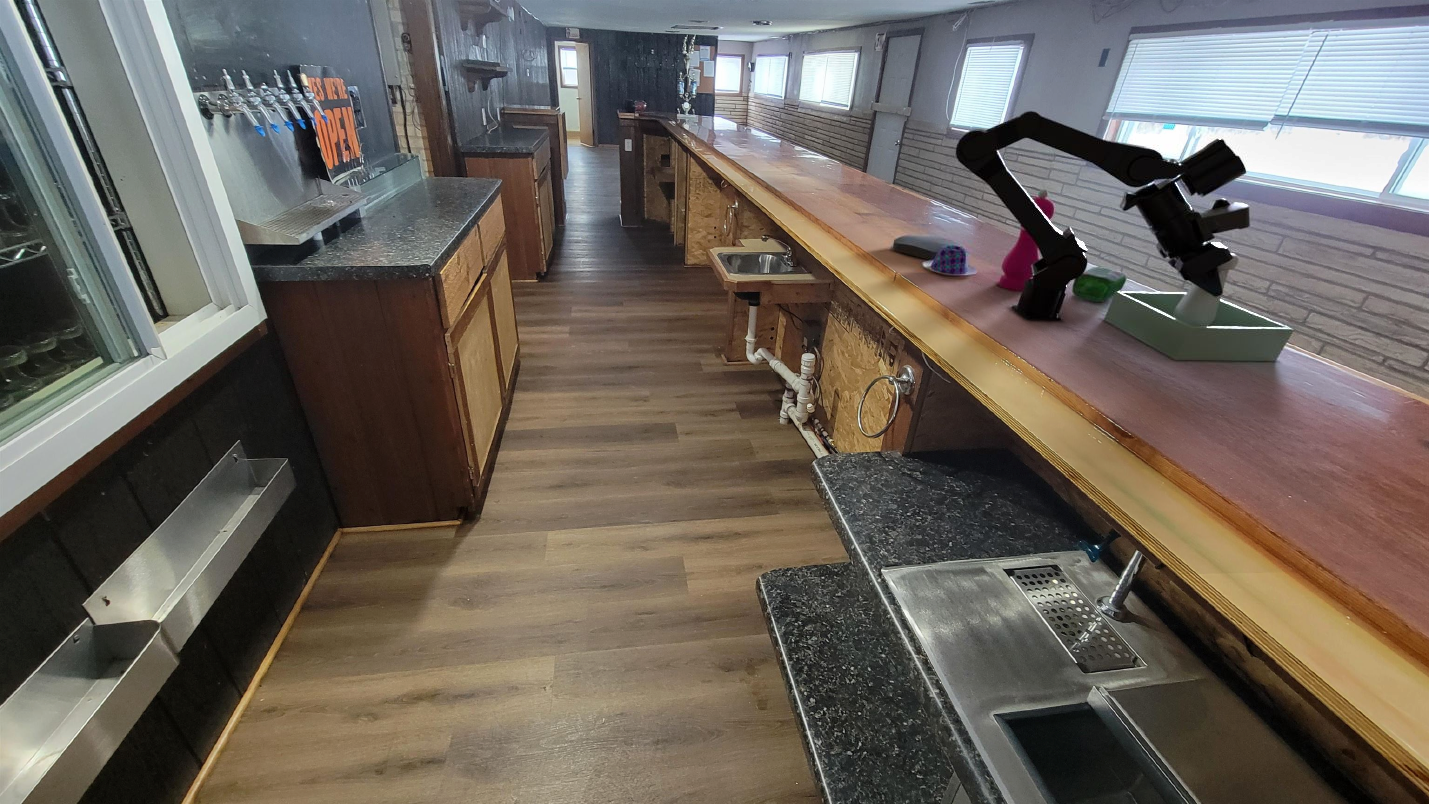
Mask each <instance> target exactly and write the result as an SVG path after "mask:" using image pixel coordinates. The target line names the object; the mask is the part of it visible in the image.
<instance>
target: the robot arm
mask: <svg viewBox="0 0 1429 804" xmlns="http://www.w3.org/2000/svg"><path fill="white" fill-rule="evenodd" d="M1025 139H1029V140H1032V141H1034V142H1036V143H1040V144H1042V145H1045V146H1047V147H1050V148H1052V149H1055V150H1057V151H1060V152H1063V153H1065V154H1067V155H1071V156H1073V157H1075V158H1078V159H1081V160H1083V161H1086V162H1089V163H1091V164H1093V165H1094V166H1096V167H1097V168H1099V169H1101V170H1102V171H1104V172H1106V173H1107V174H1108V175H1110V176H1112V177H1113V178H1115V179H1116V180H1118V181H1119V182H1120V183H1122V184H1123V185H1126V186H1128V187H1130V188H1135V189H1136V188H1139V189H1138V190H1136V191H1134V192H1129V191H1124V192H1123V197H1122V200H1121V201H1120V204H1119V208H1120V209H1121V210H1122V211H1123V212H1127V211H1129V210H1131V209H1132V208H1134V207H1136V208H1137V210H1138V212H1139V213H1140V215H1141V216H1142V218H1143V220H1144V221H1145V223H1146V224H1147V226H1148V229H1149V231H1150V233H1151V234H1152V235H1153V236H1154V237H1155V239H1156V240H1157V243H1156V246H1155V248H1156V250H1157V251H1158V253H1159V255H1160V256H1161V257H1162V258H1163V259H1166V258H1169V260H1168V261H1167V263H1168V265H1169V266H1170V267H1172V268H1173V269H1174V270H1176V271H1177V274H1178V275H1179V277H1181V278H1182V280H1184V281H1185V282H1187V281H1188V282H1190V283H1192V284H1195V285H1196V286H1198V287H1200V288H1201V289H1203V290H1205V291H1206V292H1208V293H1210V294H1211V295H1213V296H1214V297H1217V296H1219V295H1221V296H1222V295H1223V294H1224V292H1223V291H1224V289H1223V290H1222V286H1221V282H1220V277H1219V272H1218V266H1220V265H1222V264H1225V263H1227V262H1229V261H1230V260H1232V259H1233V257H1232V255H1231V253H1232V252H1231V251H1230V250H1229V248H1228V247H1227V246H1225V245H1224V244H1222V243H1221V242H1215V241H1214V242H1212V240H1214V239H1216V237H1215V234H1220V233H1221V234H1222V233H1224V232H1229V231H1233V230H1243V229H1244V230H1245V229H1247V228H1249V227H1250V226H1251V221H1250V220H1251V219H1250V206H1249V205H1248V204H1245V203H1243V202H1232V204H1230V202H1229V201H1228V199H1225V198H1223V197H1221V198H1219V199H1218V198H1217V199H1213V200H1211V202H1210V204H1209V206H1208V207H1207V209H1204V210H1203V211H1201V212H1199V211H1198V210H1197V211H1195V209H1194V208H1192V207H1191V205H1190V204H1189V202H1188V201H1187V200H1186V197H1185V196H1184V194H1183V193H1182V191H1181V189H1180V188H1179V186H1178V184H1177V182H1179V183H1180V185H1181V187H1182V188H1183V189H1184V192H1186V194H1187V195H1188V196H1189V197H1193V196H1194V195H1197V196H1199V197H1201V198H1204V197H1206V196H1207V195H1209V194H1211V193H1213V192H1215V191H1217V190H1219V189H1220V188H1222V187H1224V186H1226V185H1227V184H1230V183H1231V182H1233V181H1235V180H1237V179H1238V178H1240V177H1242V176H1244V175H1247V169H1246V166H1245V164H1244V162H1243V160H1242V159H1241V157H1240V156H1239V155H1237V154H1236V153H1235V152H1234V150H1233V149H1232V148H1230V146H1229V145H1227V143H1226V142H1225V140H1224V139H1223V138H1218V137H1217V138H1215V139H1214V140H1212V141H1210V142H1209V143H1208V144H1206V145H1205V146H1204V147H1202V148H1200V149H1199V150H1197V151H1196V152H1194V153H1192V154H1191V155H1189V156H1188V157H1185V158H1184V159H1183V160H1181V161H1179V160H1176V159H1174V158H1169V159H1167V158H1164V157H1163V155H1162V154H1161V152H1159V151H1157V150H1155V149H1153V148H1150V147H1148V146H1144V145H1138V144H1133V143H1127V142H1120V141H1114V140H1109V139H1108V140H1107V139H1103V138H1101V137H1099V136H1095V135H1094V134H1093V135H1092V134H1090V133H1087V132H1085V131H1083V130H1079V129H1077V128H1074V127H1072V126H1069V125H1066V124H1064V123H1061V122H1058V121H1056V120H1053V119H1051V118H1047V117H1045V116H1042V115H1041V114H1040V113H1038V112H1036V111H1033V110H1027V111H1024V112H1022V113H1020V115H1018V116H1016V117H1013V118H1011V119H1008V120H1006V121H1003V122H1001V123H999V124H996V125H994V126H992V127H990V128H988V129H984V128H973V129H971V130H969V131H967V132H965V133H964V134H963V135H962V137H961V138H960V139H959V140H958V142H957V145H956V147H955V157H956V159H957V161H958V162H959V163H960V164H961V165H962V166H963V167H965V168H966V169H967V170H968V171H969V172H971V173H972V174H973V175H975V176H976V177H977V178H979V179H980V180H982V181H983V182H985V183H986V184H987V185H988V186H989V188H990V189H991V190H992V191H993V192H994V194H996V196H997V198H999V200H1000V201H1001V202H1002V203H1003V205H1004V206H1005V207H1006V209H1007V210H1008V211H1009V212H1010V213H1011V214H1012V215H1013V217H1014V218H1015V219H1016V220H1017V222H1018V223H1019V224H1021V225H1022V227H1023V228H1024V229H1025V230H1026V231H1027V233H1028V234H1029V235H1030V236H1031V238H1032V239H1033V240H1034V241H1035V243H1036V245H1037V247H1038V250H1039V254H1040V255H1041V258H1040V260H1038V261H1036V262H1035V263H1033V264H1032V265H1031V272H1032V276H1033V277H1032V278H1030V280H1026V281H1025V284H1024V287H1023V290H1022V291H1021V294H1020V295H1019V296H1020V297H1019V300H1018V302H1017V305H1016V304H1012V305H1011V309H1012V310H1014V311H1015V312H1017V313H1018V314H1020V315H1021V316H1023V318H1025V319H1027V320H1031V321H1035V320H1036V321H1038V320H1039V321H1042V320H1043V321H1062V316H1061V315H1059V314H1060V313H1061V309H1062V307H1063V304H1064V301H1065V298H1066V295H1067V293H1066V291H1067V287H1068V285H1069V283H1070V282H1071V281H1074V280H1075V279H1076V278H1078V277H1079V276H1081V275H1082V274H1083V273H1084V271H1086V270H1087V267H1088V258H1087V256H1086V254H1085V253H1088V249H1087V248H1086V246H1085V243H1084V242H1083V241H1081V240H1080V239H1078V238H1076V235H1075V233H1074V232H1073V230H1072V228H1071V226H1068V227H1067V228H1066V229H1065V230H1064V231H1062V230H1060V229H1059V228H1058V227H1056V226H1055V225H1054V224H1053V223H1052V222H1051V220H1049V219H1048V218H1047V217H1046V216H1045V215H1044V213H1043V212H1042V211H1041V210H1040V208H1039V207H1038V206H1037V205H1036V203H1035V202H1034V201H1033V200H1032V197H1031V196H1030V195H1029V194H1028V192H1027V191H1026V189H1025V188H1024V187H1023V186H1022V185H1021V183H1020V182H1019V181H1018V180H1017V179H1016V177H1015V176H1014V174H1012V172H1011V171H1010V169H1008V168H1007V166H1006V164H1005V161H1004V159H1003V157H1002V156H1001V153H1000V150H1002V149H1004V148H1006V147H1009V146H1012V145H1013V144H1015V143H1017V142H1020V141H1022V140H1025ZM1156 180H1157V181H1158V180H1162V181H1160V182H1158V183H1155V182H1154V181H1156Z"/></svg>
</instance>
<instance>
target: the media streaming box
mask: <svg viewBox="0 0 1429 804" xmlns="http://www.w3.org/2000/svg"><path fill="white" fill-rule="evenodd" d="M945 245H950V246H952V245H953V246H958V247H963V248H964V245H963V244H961V243H960V242H957V241H954V240H952V239H949V238H944V237H940V236H933V235H917V234H916V235H915V234H906V235H902V236H899V237H897V238H895V239H894V240H893V243H892V250H893V251H895V252H898V253H902V254H906V255H909V256H912V257H913V256H914V257H918V258H922V259H926V260H934V259H935V257H936V255H937V253H938V251H939V249H940V248H941V247H942V246H945Z"/></svg>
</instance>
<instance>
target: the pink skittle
mask: <svg viewBox="0 0 1429 804" xmlns="http://www.w3.org/2000/svg"><path fill="white" fill-rule="evenodd" d="M1048 195H1049V191H1048V190H1047V189H1041V190H1039V191H1038V193H1037V197H1033V198H1032V197H1031V198H1032V200H1033V201H1034V202H1035V203H1036V205H1037V206H1038V207H1039V208H1040V210H1041V211H1042V212H1043V213H1044V215H1045V216H1046V217H1047V218H1048V219H1049V221H1051V219H1052V218H1053V216H1055V212H1056V206H1055V203H1054V202H1053V201H1052V200H1051V199H1049V198H1047V197H1048ZM1019 224H1020V223H1019ZM1018 229H1020V231H1019V236H1018V238H1017V241H1016V242H1015V245H1014V246H1013V247H1012V249H1011V250H1010V251H1008V253H1007V254H1006V256H1005V257H1004V259H1003V261H1002V263H1001V269H1002V272H1003V274H1002V275H1001V276H1000V278H999V281H998V285H999V286H1000V287H1002V288H1004V289H1008V290H1010V291H1017V292H1022V290H1023V287H1024V284H1025V281H1026V280H1030V279H1032V278H1033V276H1032V272H1031V265H1032V264H1033V263H1035V262H1036V261H1038V260H1040V259H1041V258H1040V251H1039V249H1038V247H1037V245H1036V243H1035V241H1034V240H1033V239H1032V238H1031V236H1030V235H1029V234H1028V233H1027V231H1026V230H1025V229H1024V228H1023V227H1022V225H1021V224H1020V225H1019V227H1018Z"/></svg>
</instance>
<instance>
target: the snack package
mask: <svg viewBox="0 0 1429 804" xmlns="http://www.w3.org/2000/svg"><path fill="white" fill-rule="evenodd" d="M1127 279H1128V275H1127V274H1126V273H1125V272H1123V271H1121V270H1116V269H1112V268H1107V267H1102V266H1093V267H1091V268H1088V269H1086V270H1085V271H1084V273H1083V274H1082V275H1081V276H1079V277H1078V278H1076V279H1074V280H1073V284H1072V288H1071V291H1072V293H1073V295H1074V296H1075V297H1077V298H1080V299H1083V300H1088V301H1091V302H1094V303H1102V302H1104V301H1106V300H1107V299H1109V298H1111V297H1113V296H1114V294H1115V291H1121V290H1122V289H1123V288H1124V286H1125V284H1126V282H1127Z"/></svg>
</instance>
